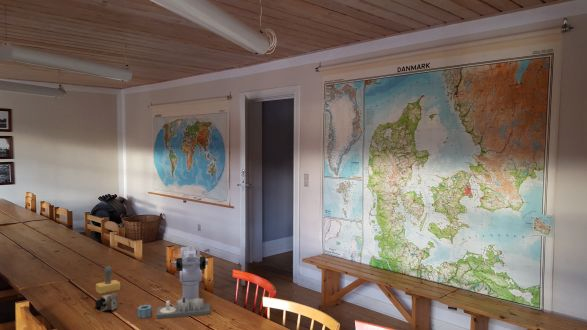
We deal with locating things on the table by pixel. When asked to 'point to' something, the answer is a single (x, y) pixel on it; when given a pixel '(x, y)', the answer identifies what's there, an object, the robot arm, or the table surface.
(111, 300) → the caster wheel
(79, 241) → the table surface
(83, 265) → the table surface
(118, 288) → the rubber stamp
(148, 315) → the slate gear
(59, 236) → the table surface
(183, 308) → the gear board
